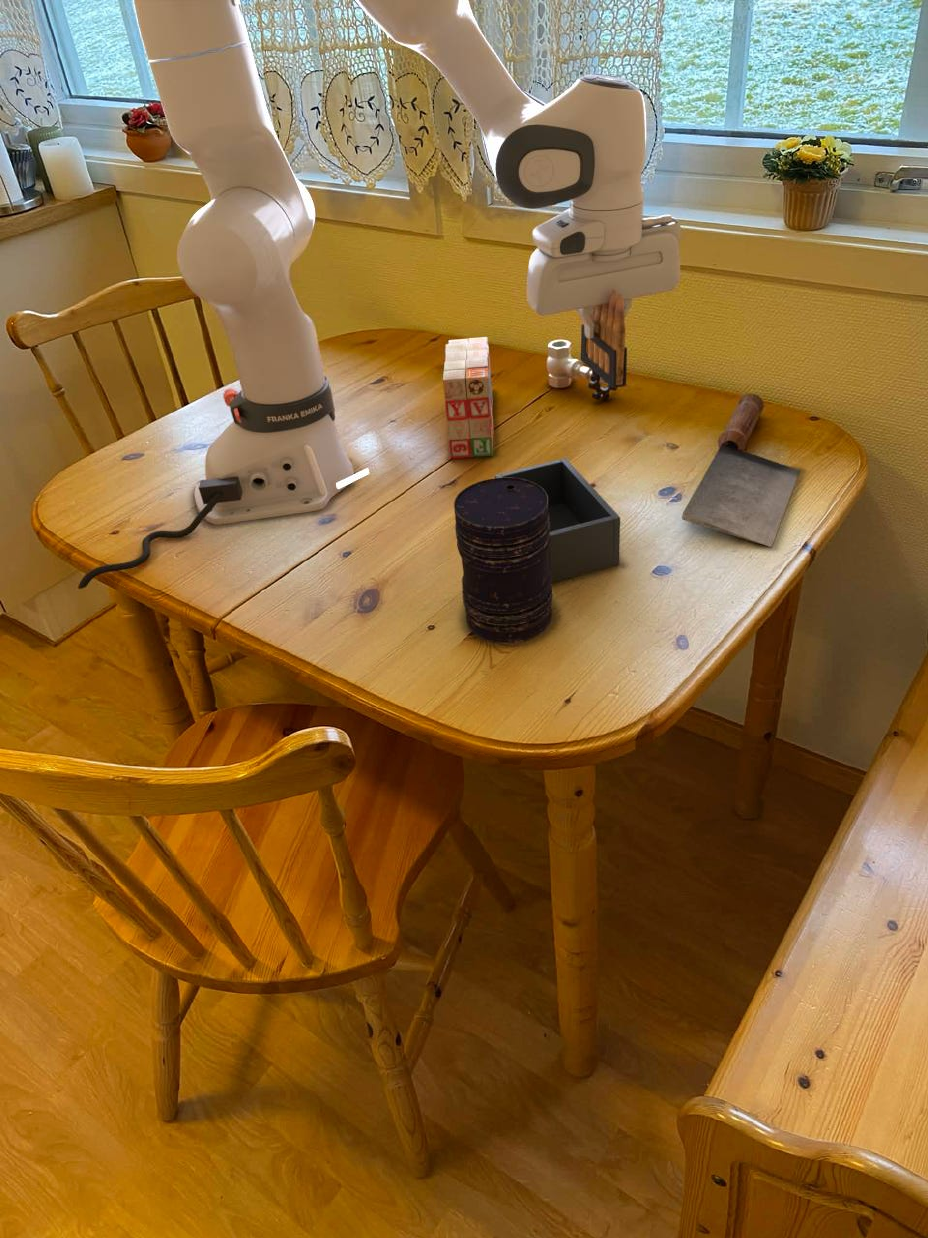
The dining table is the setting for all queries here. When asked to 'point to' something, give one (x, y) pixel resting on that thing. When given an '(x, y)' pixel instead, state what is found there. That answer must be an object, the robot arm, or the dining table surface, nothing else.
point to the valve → (572, 370)
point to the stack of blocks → (468, 397)
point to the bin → (574, 520)
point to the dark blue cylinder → (505, 558)
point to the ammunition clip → (607, 343)
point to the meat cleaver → (742, 484)
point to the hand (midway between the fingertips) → (603, 334)
